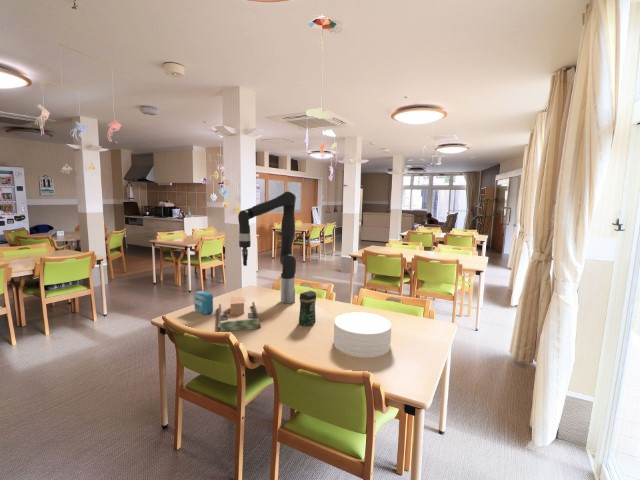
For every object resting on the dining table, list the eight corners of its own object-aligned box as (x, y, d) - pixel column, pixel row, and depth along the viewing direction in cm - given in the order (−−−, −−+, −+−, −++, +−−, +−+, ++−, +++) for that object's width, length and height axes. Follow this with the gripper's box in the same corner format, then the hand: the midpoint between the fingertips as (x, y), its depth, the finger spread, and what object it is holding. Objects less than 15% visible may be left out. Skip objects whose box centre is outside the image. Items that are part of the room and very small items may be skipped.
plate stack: (353, 328, 182) (354, 308, 181) (400, 343, 165) (401, 321, 163) (322, 344, 161) (322, 322, 159) (371, 364, 143) (372, 339, 142)
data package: (194, 310, 203) (194, 292, 201) (200, 308, 207) (200, 290, 205) (207, 314, 196) (206, 295, 195) (213, 312, 200) (212, 293, 199)
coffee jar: (306, 327, 181) (307, 295, 179) (296, 323, 186) (297, 292, 184) (318, 322, 189) (318, 291, 186) (307, 319, 194) (308, 288, 191)
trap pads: (254, 312, 201) (254, 312, 201) (255, 317, 194) (255, 317, 194) (220, 315, 196) (220, 315, 196) (220, 320, 188) (220, 319, 188)
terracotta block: (243, 307, 211) (243, 297, 210) (244, 314, 200) (244, 303, 199) (230, 308, 209) (230, 297, 208) (230, 315, 198) (230, 303, 197)
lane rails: (254, 305, 215) (253, 298, 214) (260, 328, 179) (260, 319, 178) (219, 307, 209) (219, 300, 208) (218, 331, 173) (218, 322, 172)
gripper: (251, 241, 213) (251, 267, 215) (249, 238, 226) (249, 262, 229) (239, 241, 211) (239, 267, 213) (238, 238, 224) (238, 263, 226)
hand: (244, 264), depth 221 cm, fingers open, 4 cm apart
